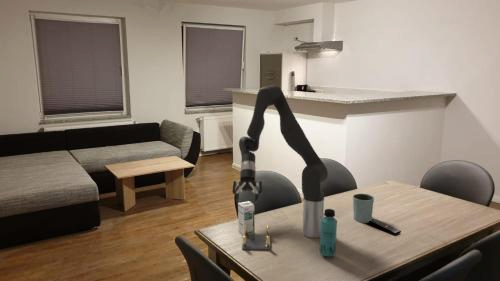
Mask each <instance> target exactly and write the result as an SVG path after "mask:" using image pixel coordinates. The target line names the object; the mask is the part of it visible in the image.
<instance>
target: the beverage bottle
mask: <svg viewBox="0 0 500 281" xmlns="http://www.w3.org/2000/svg"><path fill="white" fill-rule="evenodd" d="M335 211H336V210H334V209H332V208H327V209H324V212H323V213H324V218H323V219H322V220H321V236H320V237H319V239H320V240H319V254H321V255H322V256H324V257H333V256H335V254H336V252H337V228H338V220H337V219H336V218H335V216H336V214H335V213H336V212H335Z"/></svg>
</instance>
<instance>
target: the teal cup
mask: <svg viewBox="0 0 500 281" xmlns="http://www.w3.org/2000/svg"><path fill="white" fill-rule="evenodd" d="M374 201H375V197H374V196H373V195H371V194H367V193H355V194H353V195H352V202H353V203H352V207H353V219H354V221H355V222H357V223H363V224H365V223H366V224H368V223H370V222H369V221H370V220H371V221H372V218H373V209H374Z"/></svg>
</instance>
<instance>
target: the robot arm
mask: <svg viewBox="0 0 500 281" xmlns="http://www.w3.org/2000/svg"><path fill="white" fill-rule="evenodd" d="M270 106H274V108H275V109H276V111H277V113H278V115H279V129H280V133H281V135H282V138H283V139H284V140H285V142H286V144H287V145H288V147H290V148H291V149H292V151H294V152H295V153H297V155H299V156H300V157H301V158H302V160H303V161H304V164H305V165H306V166H305V167H304V168H303V170H302V173H301V192H302V195H303V202H302V203H303V204H302V235H303V236H305V237H307V238H313V239H317V238H320V236H321V220H322V219H323V218H324V217H325V215H324V213H325V209H324V208H325V207H324V205H325V193H324V192H323V191H322V190H321V183H323V182H325V181H326V180H327V178H328V177H329V172H328V169H327V167H326V164H324V162H323V160H322V159H321V158H320V157H319V155H318V154H317V152H316V151H315V149H314V147H313V146H312V144H311V142H310V141H309V139H308V137H307V135H306V134H305V132H304V130H303V128H302V127H301V125H300V124H299V122H298V120H297V118H296V117H295V115H294V113H293V111H292V109H291V107H290V104H289V102H288V101H287V98H286V96H285V94H284V92H283V90H282V89H281V87H280V86H279V85H277V84H270V85H266V86H263V87H260V89H258V92H257V94H256V99H255V105H254V108H253V114H252V118H251V121H250V124H249V126H248V127H247V128H248V129H247V131H246V135H247V136H242V137H240V139H239V141H238V148H239V150H240V155H241V162H240V164H241V165H240V176H239V177H240V178H239V181H236V180H234V181H232V182H233V183H232V194H233V195H235V201H236V203H240V194H242V192H243V191H244V192H251V191H252V193H253V194H254V195H255V196H254V197H255V198H254V203H255V204H256V203H258V202H259V196H260V195H261V196H262V195H263V186H262V185H263V184H262V181H258V182H257V181H256V176H257V175H256V174H257V173H256V172H257V168H256V154H255V153H254V152H257V151H258V150H259V149H260V148H259V147H260V138H261V134H262V132H263V130H264V127H265V112H266V110H267V109H268V107H270ZM238 186H239V188H238V189H237V187H238ZM256 186H257V187H258V189H259V191H258V190H257V189H256Z"/></svg>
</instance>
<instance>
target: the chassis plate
mask: <svg viewBox="0 0 500 281" xmlns="http://www.w3.org/2000/svg"><path fill="white" fill-rule="evenodd" d="M265 228H266V234H255V233H254V234H247V225H245V226H244V236H243V235H242V246H241V250H243V251H244V250H245V251H247V250H250V251H271V234H270V228H271V227H270V225H266V227H265Z"/></svg>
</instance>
